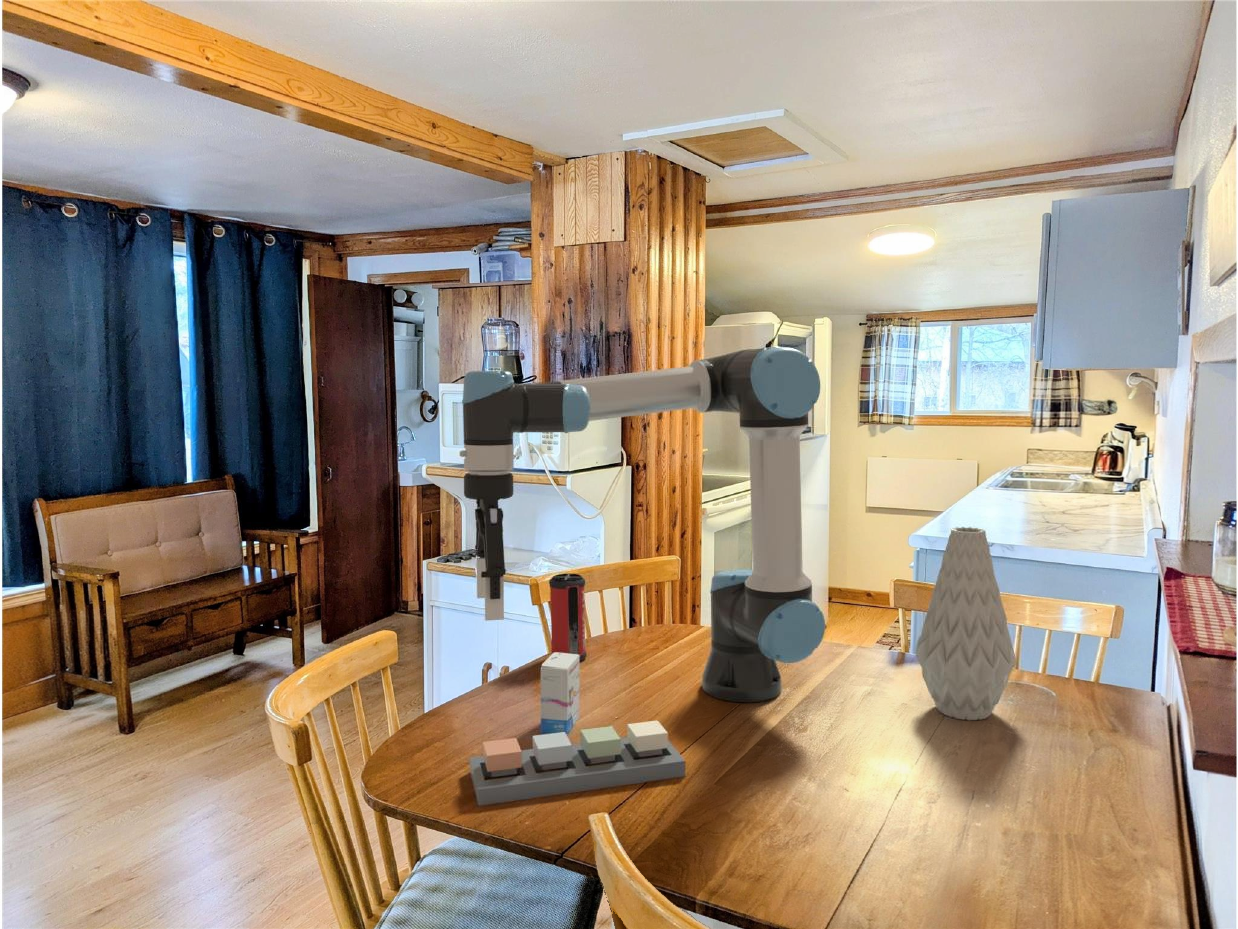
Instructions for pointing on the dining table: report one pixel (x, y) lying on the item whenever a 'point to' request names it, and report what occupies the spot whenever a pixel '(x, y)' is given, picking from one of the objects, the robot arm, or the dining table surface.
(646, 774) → the keypad base
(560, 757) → the key bluegrey
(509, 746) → the key terracotta
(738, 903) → the dining table surface
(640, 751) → the key cream
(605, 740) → the key sage
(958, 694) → the vase
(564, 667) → the ink box
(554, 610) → the speaker
